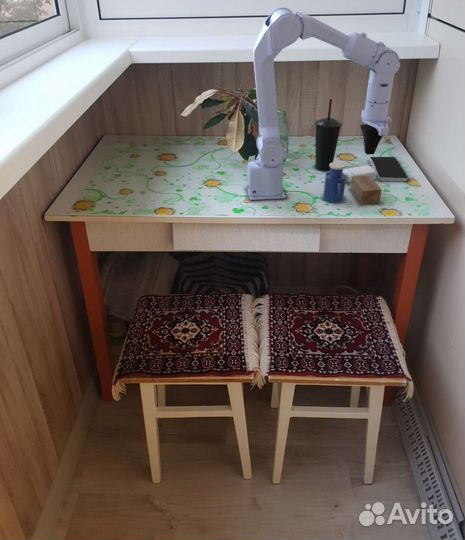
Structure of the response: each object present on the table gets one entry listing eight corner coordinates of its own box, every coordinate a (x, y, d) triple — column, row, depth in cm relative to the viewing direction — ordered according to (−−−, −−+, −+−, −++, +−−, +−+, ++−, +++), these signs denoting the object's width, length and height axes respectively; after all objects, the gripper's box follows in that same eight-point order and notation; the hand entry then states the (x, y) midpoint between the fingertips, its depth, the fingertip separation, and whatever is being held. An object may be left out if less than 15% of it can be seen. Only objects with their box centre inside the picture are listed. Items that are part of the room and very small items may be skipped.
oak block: (360, 205, 130) (362, 190, 127) (350, 189, 137) (352, 176, 135) (379, 204, 130) (381, 189, 128) (368, 189, 137) (370, 175, 135)
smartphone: (379, 177, 141) (369, 156, 153) (379, 181, 142) (368, 160, 154) (408, 177, 141) (395, 156, 153) (408, 181, 141) (394, 160, 154)
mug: (334, 214, 130) (313, 188, 126) (327, 202, 136) (306, 177, 131) (365, 191, 128) (344, 164, 123) (356, 180, 133) (336, 154, 128)
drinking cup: (329, 175, 145) (336, 105, 134) (305, 168, 149) (311, 100, 137) (341, 166, 150) (349, 98, 139) (318, 160, 154) (325, 93, 142)
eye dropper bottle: (369, 159, 142) (332, 165, 138) (378, 174, 139) (340, 181, 136) (363, 169, 146) (327, 175, 142) (372, 184, 143) (335, 191, 140)
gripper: (404, 108, 118) (394, 163, 125) (383, 91, 129) (375, 142, 137) (375, 109, 117) (366, 164, 125) (356, 92, 129) (349, 143, 137)
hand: (369, 153), depth 131 cm, fingers closed
